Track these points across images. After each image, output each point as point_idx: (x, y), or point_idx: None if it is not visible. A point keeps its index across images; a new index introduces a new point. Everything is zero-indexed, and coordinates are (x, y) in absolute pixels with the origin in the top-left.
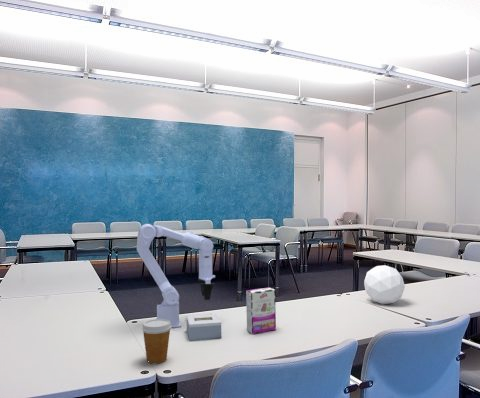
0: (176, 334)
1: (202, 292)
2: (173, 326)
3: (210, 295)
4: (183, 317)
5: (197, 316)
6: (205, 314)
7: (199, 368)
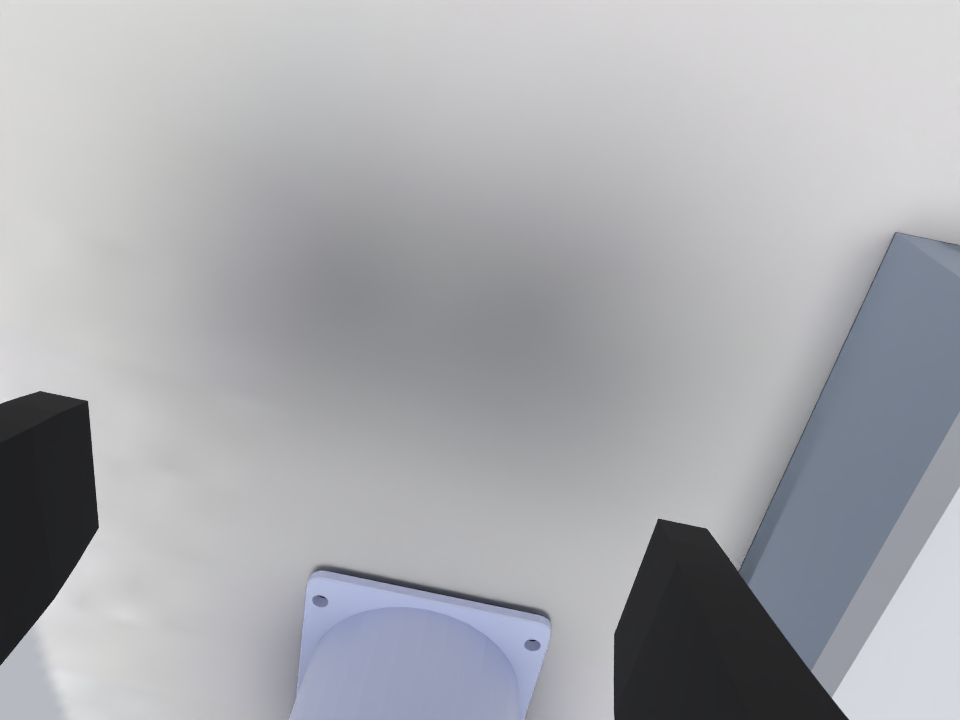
0: None
1: (28, 616)
2: (534, 687)
3: (775, 629)
4: (131, 469)
5: (946, 688)
6: (930, 546)
7: None
